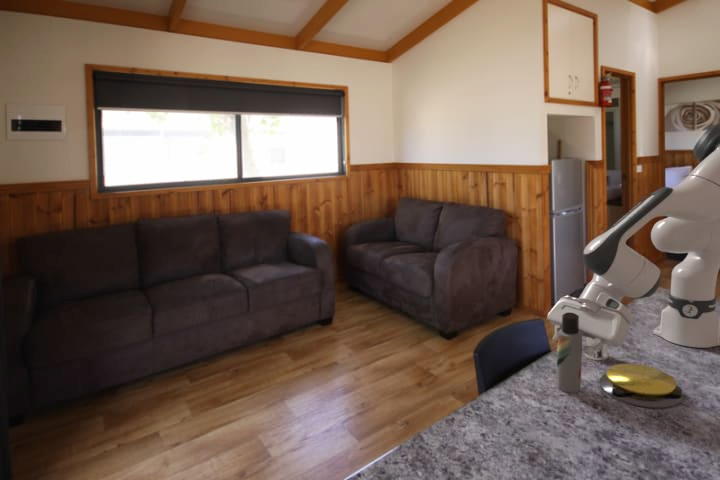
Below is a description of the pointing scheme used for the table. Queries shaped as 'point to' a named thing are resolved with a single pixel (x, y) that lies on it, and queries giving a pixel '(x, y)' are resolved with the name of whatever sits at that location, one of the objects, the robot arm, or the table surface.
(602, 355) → the beer glass
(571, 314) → the lotion bottle
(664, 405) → the levelling base
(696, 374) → the table surface
